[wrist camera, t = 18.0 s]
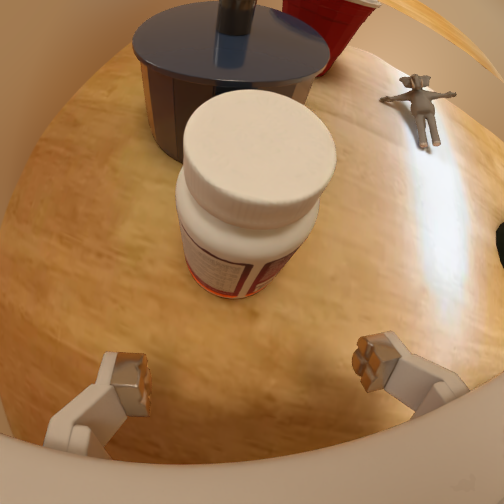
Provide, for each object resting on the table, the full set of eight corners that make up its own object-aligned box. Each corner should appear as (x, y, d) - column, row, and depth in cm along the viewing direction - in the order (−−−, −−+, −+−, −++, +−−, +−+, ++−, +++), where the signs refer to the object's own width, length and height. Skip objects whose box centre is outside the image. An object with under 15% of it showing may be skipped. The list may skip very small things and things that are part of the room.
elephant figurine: (385, 140, 26) (372, 71, 26) (391, 157, 31) (380, 94, 31) (473, 136, 21) (451, 65, 21) (466, 153, 26) (450, 89, 26)
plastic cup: (334, 52, 32) (363, -15, 21) (355, 98, 28) (398, 16, 17) (257, 37, 30) (274, -39, 19) (260, 80, 26) (285, -19, 15)
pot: (139, 205, 20) (111, 120, 12) (162, 65, 26) (160, 0, 18) (310, 202, 22) (358, 126, 14) (276, 68, 28) (293, 6, 20)
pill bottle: (271, 212, 21) (327, 88, 10) (283, 297, 19) (374, 219, 8) (184, 214, 20) (174, 79, 9) (186, 303, 18) (161, 222, 7)
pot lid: (113, 102, 13) (100, 41, 9) (151, 12, 18) (150, -25, 14) (350, 108, 15) (378, 58, 11) (302, 19, 20) (313, -16, 16)
